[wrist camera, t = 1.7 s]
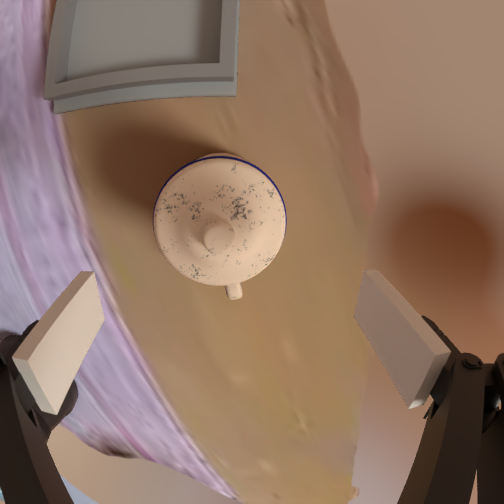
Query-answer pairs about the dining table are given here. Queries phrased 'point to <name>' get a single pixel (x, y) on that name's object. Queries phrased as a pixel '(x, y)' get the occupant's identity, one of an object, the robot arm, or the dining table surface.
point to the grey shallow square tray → (140, 51)
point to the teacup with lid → (219, 221)
